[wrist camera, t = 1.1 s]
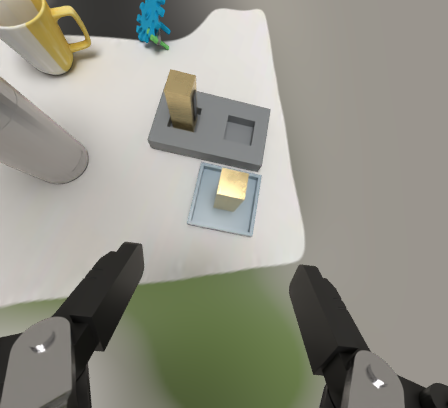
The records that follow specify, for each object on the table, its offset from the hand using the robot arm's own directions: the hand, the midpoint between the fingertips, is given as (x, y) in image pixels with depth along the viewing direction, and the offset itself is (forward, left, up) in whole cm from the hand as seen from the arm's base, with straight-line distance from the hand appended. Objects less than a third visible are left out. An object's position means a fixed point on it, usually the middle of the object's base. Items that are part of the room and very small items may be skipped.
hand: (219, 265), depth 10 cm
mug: (-37, +32, -26) cm, 56 cm away
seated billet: (-10, +24, -25) cm, 36 cm away
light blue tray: (+1, +10, -26) cm, 28 cm away
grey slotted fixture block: (-4, +24, -26) cm, 35 cm away
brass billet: (+1, +10, -25) cm, 27 cm away
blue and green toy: (-22, +45, -26) cm, 57 cm away
